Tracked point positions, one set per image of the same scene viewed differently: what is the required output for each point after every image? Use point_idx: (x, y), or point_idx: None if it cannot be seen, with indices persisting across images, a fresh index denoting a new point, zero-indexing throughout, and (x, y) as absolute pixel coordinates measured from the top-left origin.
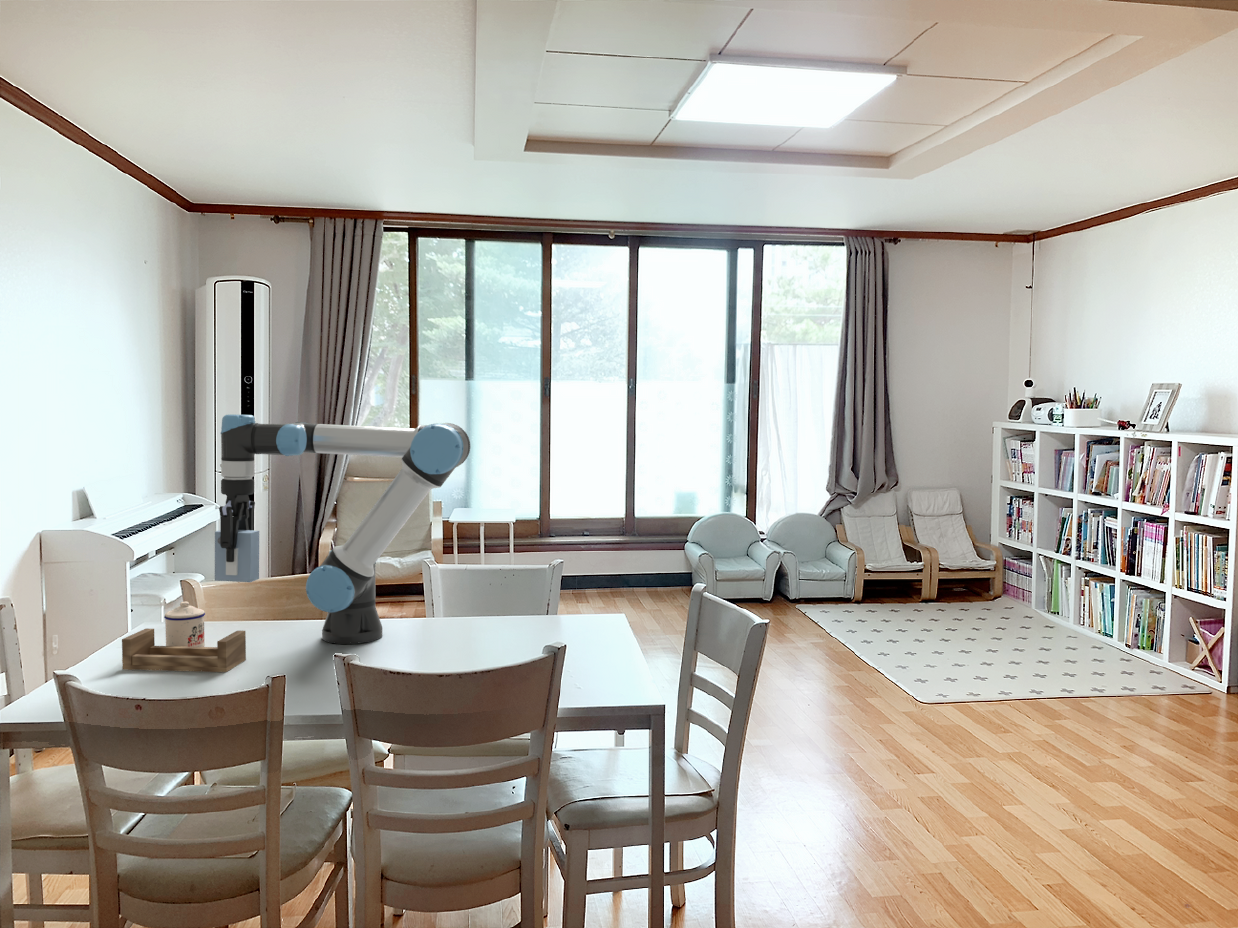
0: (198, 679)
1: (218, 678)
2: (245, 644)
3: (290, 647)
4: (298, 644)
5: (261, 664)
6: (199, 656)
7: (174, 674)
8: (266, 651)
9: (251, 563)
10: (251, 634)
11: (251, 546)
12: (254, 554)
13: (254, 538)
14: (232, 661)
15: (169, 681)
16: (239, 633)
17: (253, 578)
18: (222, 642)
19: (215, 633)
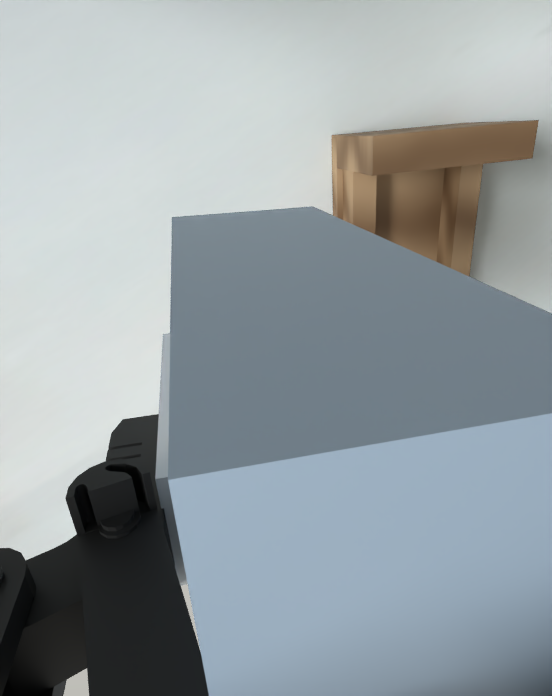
0: (529, 168)
1: (526, 111)
2: (353, 135)
3: (132, 37)
4: (74, 21)
5: (379, 40)
6: (459, 232)
7: (480, 263)
8: (214, 116)
9: (349, 231)
10: (7, 310)
11: (449, 282)
12: (308, 257)
13: (409, 340)
14: (437, 126)
15: (538, 237)
16: (418, 136)
17: (269, 213)
18: (532, 136)
19: (48, 425)
